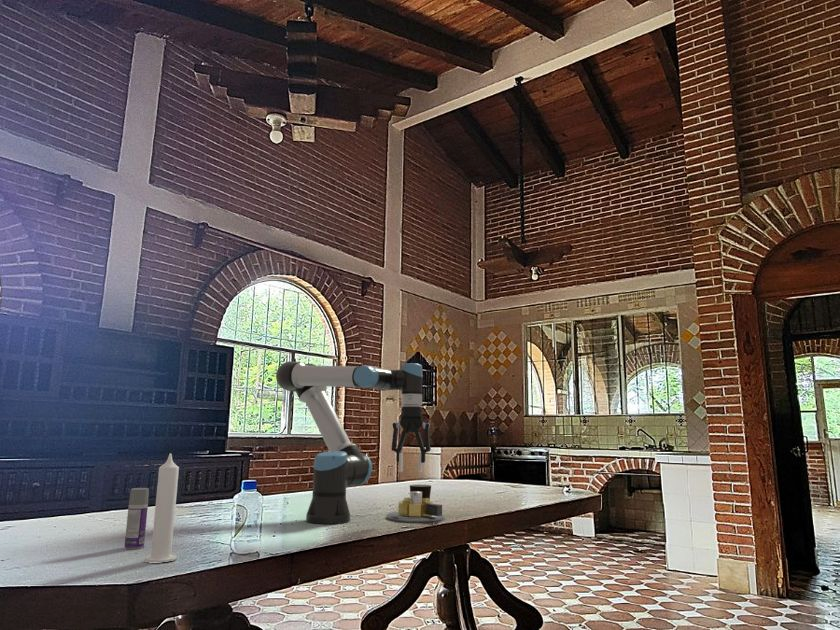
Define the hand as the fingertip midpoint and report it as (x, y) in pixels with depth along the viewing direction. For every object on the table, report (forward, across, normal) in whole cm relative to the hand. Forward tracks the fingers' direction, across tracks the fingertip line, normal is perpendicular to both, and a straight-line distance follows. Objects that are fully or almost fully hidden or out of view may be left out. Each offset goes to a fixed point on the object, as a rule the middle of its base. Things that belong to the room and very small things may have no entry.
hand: (410, 471), depth 209 cm
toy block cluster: (+15, +3, +8) cm, 17 cm away
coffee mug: (+17, -2, +28) cm, 33 cm away
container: (+17, -59, -66) cm, 90 cm away
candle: (+17, -43, -77) cm, 90 cm away
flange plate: (+17, 0, +10) cm, 19 cm away
